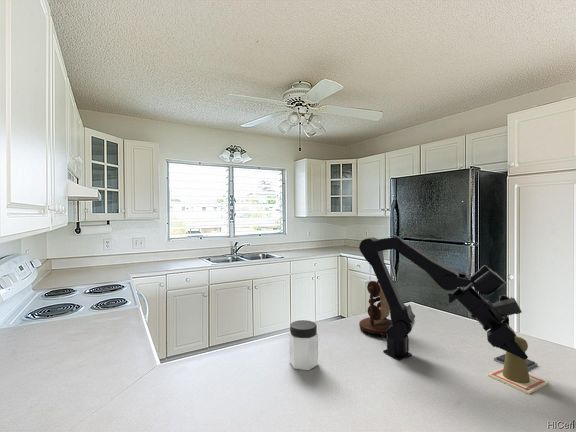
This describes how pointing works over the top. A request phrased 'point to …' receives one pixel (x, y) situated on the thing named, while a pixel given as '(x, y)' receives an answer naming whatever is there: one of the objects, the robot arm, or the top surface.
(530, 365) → the ink pad
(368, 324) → the brown wooden figurine
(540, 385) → the print card
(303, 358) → the jar
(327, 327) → the top surface
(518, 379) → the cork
